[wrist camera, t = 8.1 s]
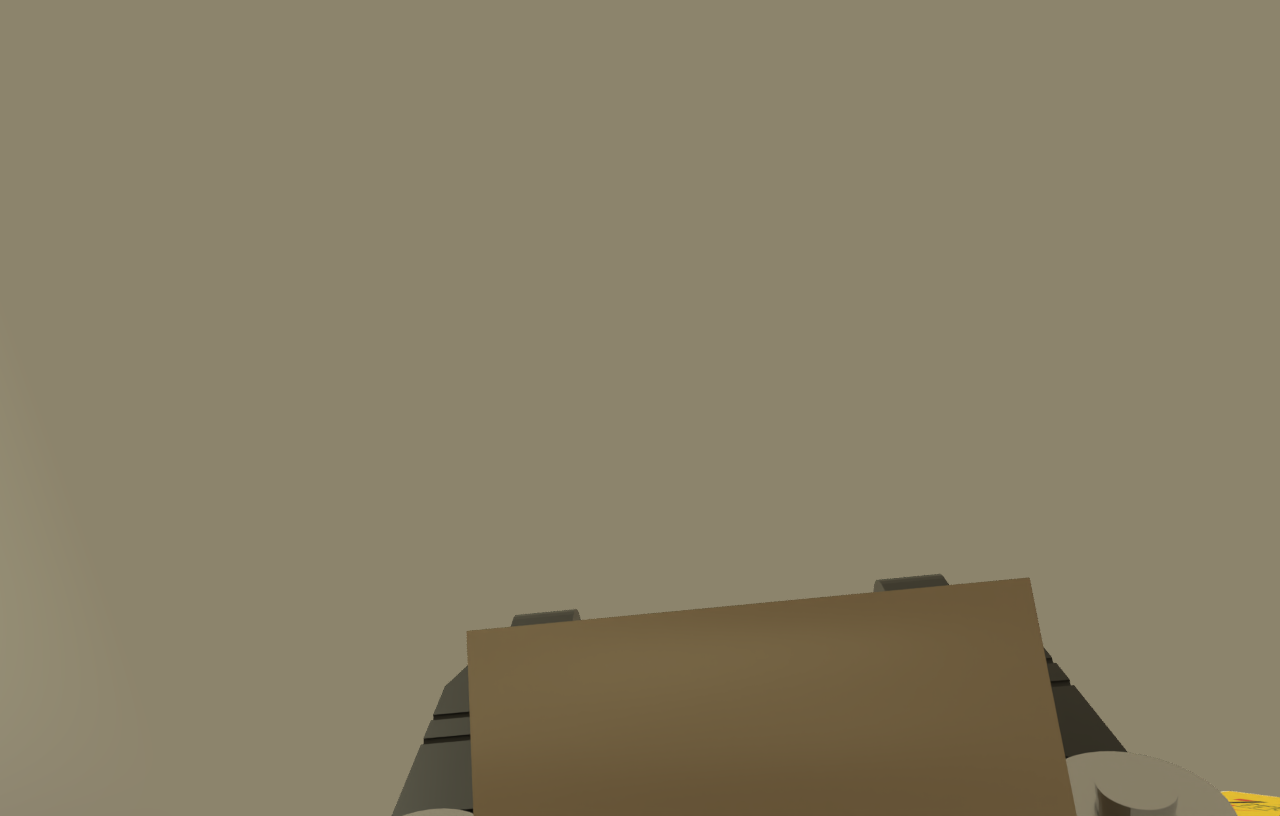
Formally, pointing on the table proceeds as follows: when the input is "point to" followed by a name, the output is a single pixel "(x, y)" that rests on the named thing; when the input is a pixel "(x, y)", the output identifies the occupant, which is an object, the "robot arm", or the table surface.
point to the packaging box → (1253, 804)
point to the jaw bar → (774, 710)
